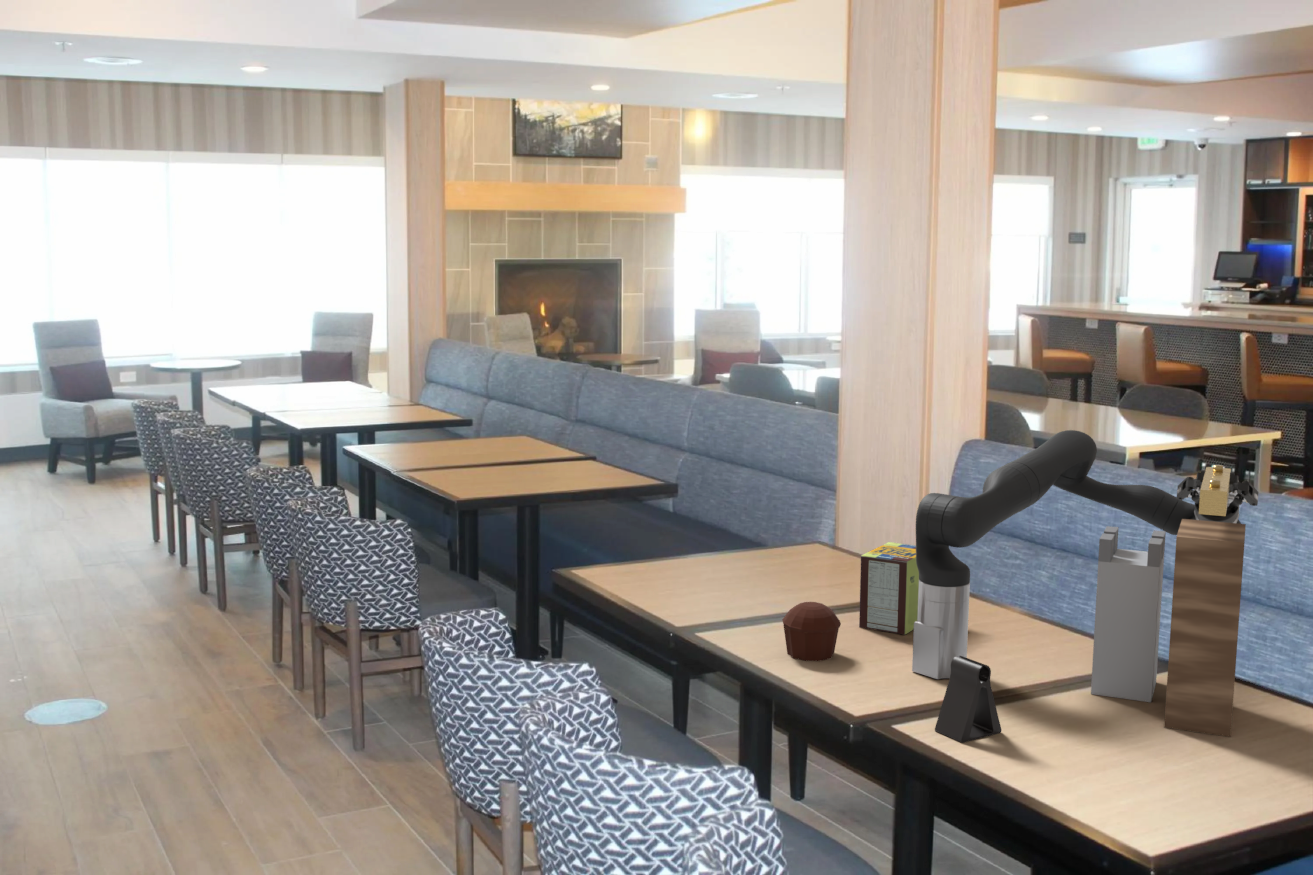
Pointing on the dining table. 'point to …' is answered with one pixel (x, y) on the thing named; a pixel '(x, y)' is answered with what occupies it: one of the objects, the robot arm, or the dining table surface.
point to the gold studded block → (1215, 491)
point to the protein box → (889, 588)
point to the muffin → (811, 631)
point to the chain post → (1127, 618)
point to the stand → (1204, 626)
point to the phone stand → (968, 703)
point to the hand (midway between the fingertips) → (1217, 476)
